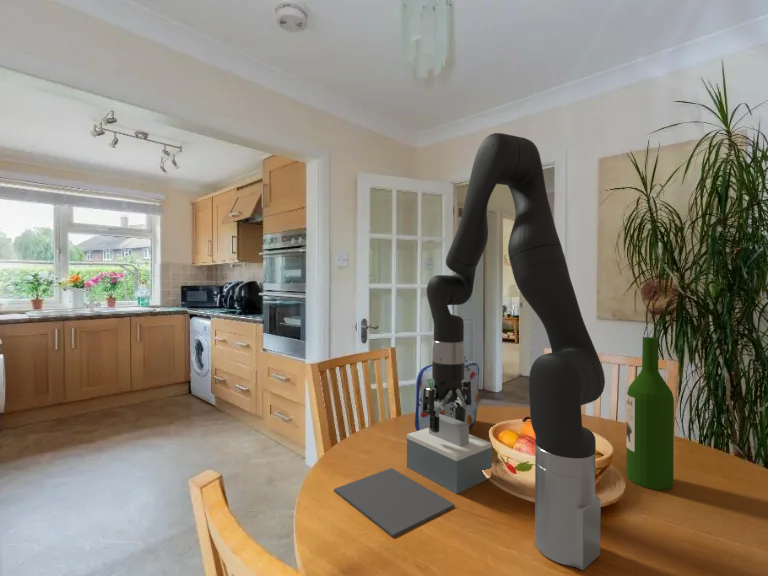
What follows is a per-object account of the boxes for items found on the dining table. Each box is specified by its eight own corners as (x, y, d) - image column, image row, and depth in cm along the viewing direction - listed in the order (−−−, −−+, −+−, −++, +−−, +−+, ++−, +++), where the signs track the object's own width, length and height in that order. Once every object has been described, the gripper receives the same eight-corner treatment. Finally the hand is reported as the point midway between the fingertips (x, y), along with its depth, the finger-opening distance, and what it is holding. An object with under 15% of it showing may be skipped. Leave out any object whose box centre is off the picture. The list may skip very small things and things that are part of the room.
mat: (454, 506, 80) (454, 504, 80) (392, 537, 70) (392, 534, 70) (391, 470, 96) (391, 467, 96) (333, 491, 86) (333, 488, 86)
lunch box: (454, 414, 137) (454, 350, 137) (483, 420, 131) (483, 353, 131) (410, 439, 115) (410, 362, 115) (442, 448, 109) (442, 367, 109)
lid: (491, 451, 92) (491, 423, 92) (456, 465, 85) (456, 435, 85) (441, 431, 105) (441, 406, 105) (406, 442, 98) (406, 415, 97)
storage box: (491, 477, 92) (491, 447, 92) (456, 494, 85) (456, 461, 85) (441, 454, 105) (441, 427, 105) (406, 466, 98) (406, 438, 98)
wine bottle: (620, 470, 96) (621, 334, 96) (661, 473, 94) (663, 336, 94) (635, 488, 88) (636, 340, 87) (681, 492, 86) (683, 341, 85)
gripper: (438, 366, 87) (437, 439, 88) (480, 358, 96) (479, 425, 96) (415, 360, 93) (414, 429, 94) (456, 354, 102) (455, 417, 102)
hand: (447, 427), depth 95 cm, fingers open, 8 cm apart
